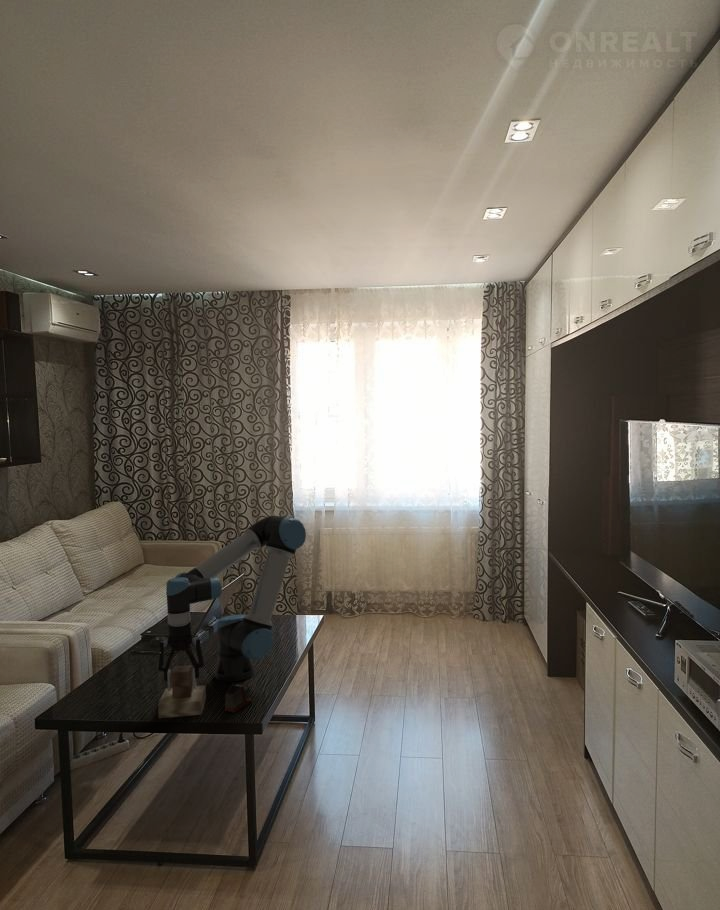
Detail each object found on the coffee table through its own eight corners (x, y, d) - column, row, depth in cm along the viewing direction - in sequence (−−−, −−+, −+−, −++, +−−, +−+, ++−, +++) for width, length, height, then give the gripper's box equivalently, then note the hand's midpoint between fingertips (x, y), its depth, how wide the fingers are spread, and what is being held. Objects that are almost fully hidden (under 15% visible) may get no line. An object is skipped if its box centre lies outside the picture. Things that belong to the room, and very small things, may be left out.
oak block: (206, 698, 230) (205, 685, 230) (201, 715, 216) (200, 701, 216) (166, 702, 229) (165, 688, 228) (158, 719, 215) (158, 704, 214)
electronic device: (253, 703, 224) (252, 681, 224) (234, 714, 216) (233, 692, 216) (243, 700, 227) (242, 679, 226) (224, 711, 218) (223, 689, 218)
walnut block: (192, 690, 226) (191, 665, 225) (190, 697, 220) (189, 671, 219) (175, 691, 225) (174, 666, 225) (172, 698, 219) (171, 672, 219)
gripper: (210, 618, 227) (213, 681, 227) (150, 622, 224) (153, 686, 225) (208, 624, 219) (211, 690, 220) (146, 628, 216) (149, 695, 217)
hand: (182, 688), depth 222 cm, fingers open, 8 cm apart
